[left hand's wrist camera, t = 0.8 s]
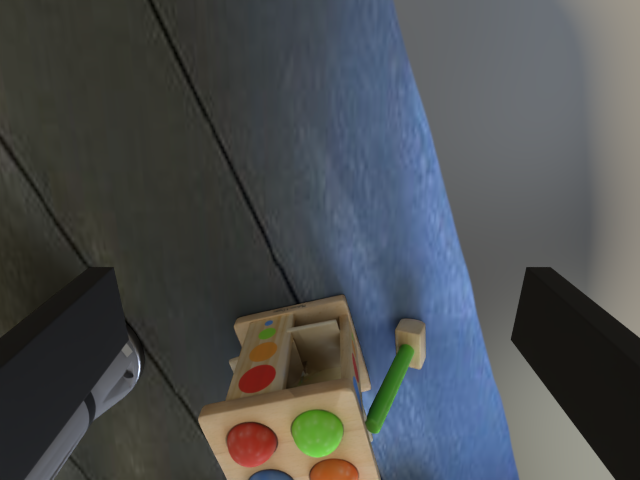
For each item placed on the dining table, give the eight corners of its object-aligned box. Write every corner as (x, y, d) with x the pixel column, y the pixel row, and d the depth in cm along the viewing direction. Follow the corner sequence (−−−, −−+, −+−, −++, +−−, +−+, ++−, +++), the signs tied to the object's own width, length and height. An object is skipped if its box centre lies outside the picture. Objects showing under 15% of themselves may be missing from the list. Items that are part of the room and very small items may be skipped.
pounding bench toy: (414, 277, 47) (461, 384, 30) (432, 369, 52) (482, 505, 35) (233, 317, 49) (186, 437, 33) (268, 402, 55) (242, 542, 38)
